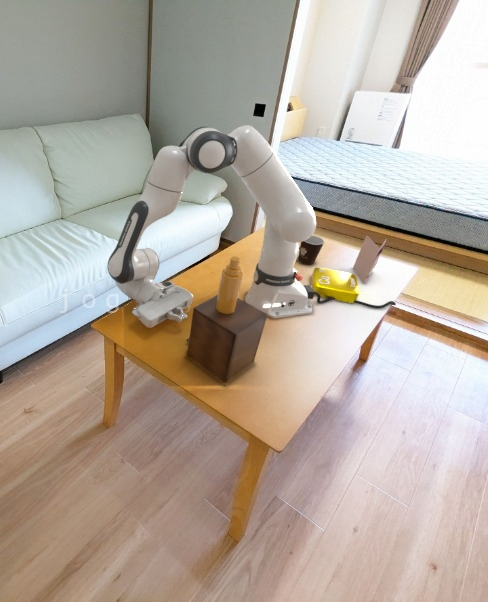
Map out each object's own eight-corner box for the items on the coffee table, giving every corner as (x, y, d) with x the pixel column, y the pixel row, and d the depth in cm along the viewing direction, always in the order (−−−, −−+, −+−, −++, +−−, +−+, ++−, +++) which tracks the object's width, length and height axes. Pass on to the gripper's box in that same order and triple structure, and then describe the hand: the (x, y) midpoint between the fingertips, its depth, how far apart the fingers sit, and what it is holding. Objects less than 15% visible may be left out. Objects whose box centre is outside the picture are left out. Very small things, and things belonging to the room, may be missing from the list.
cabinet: (186, 357, 109) (193, 307, 98) (215, 339, 116) (224, 290, 105) (224, 386, 100) (236, 334, 90) (253, 364, 107) (267, 314, 96)
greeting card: (366, 284, 142) (382, 249, 134) (345, 277, 146) (360, 243, 137) (373, 272, 149) (389, 239, 141) (353, 266, 153) (367, 233, 145)
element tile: (355, 304, 131) (360, 293, 129) (310, 295, 136) (314, 284, 133) (352, 283, 143) (357, 273, 140) (311, 275, 147) (314, 265, 145)
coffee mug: (320, 266, 153) (328, 244, 147) (299, 266, 153) (306, 244, 147) (309, 253, 163) (316, 232, 157) (289, 252, 163) (295, 231, 157)
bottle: (232, 302, 101) (242, 253, 92) (237, 313, 96) (248, 263, 88) (213, 302, 100) (222, 253, 92) (217, 314, 96) (227, 263, 88)
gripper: (129, 302, 114) (160, 326, 106) (174, 279, 125) (206, 298, 117) (128, 318, 118) (159, 341, 110) (172, 294, 129) (203, 313, 121)
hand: (184, 319), depth 114 cm, fingers closed
